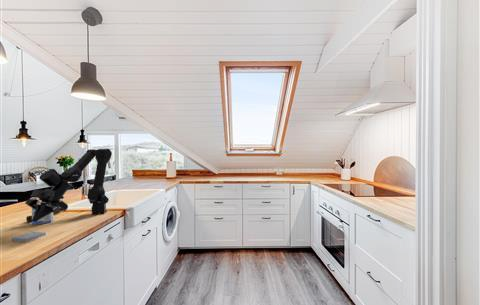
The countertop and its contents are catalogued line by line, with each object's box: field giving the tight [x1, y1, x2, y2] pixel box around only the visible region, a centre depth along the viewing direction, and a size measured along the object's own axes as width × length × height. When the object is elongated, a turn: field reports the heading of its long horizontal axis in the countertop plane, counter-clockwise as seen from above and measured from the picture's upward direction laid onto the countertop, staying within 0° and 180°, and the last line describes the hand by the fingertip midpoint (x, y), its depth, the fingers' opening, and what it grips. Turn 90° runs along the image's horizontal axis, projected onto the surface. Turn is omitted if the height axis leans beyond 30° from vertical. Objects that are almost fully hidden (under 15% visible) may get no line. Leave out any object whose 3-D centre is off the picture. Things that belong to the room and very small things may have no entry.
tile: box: [11, 231, 46, 243], centre depth 97 cm, size 2×8×8 cm
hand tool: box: [25, 207, 62, 224], centre depth 127 cm, size 19×4×5 cm, turn 174°
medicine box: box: [31, 208, 55, 226], centre depth 117 cm, size 8×4×9 cm, turn 117°
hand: (33, 221), depth 98 cm, fingers closed
